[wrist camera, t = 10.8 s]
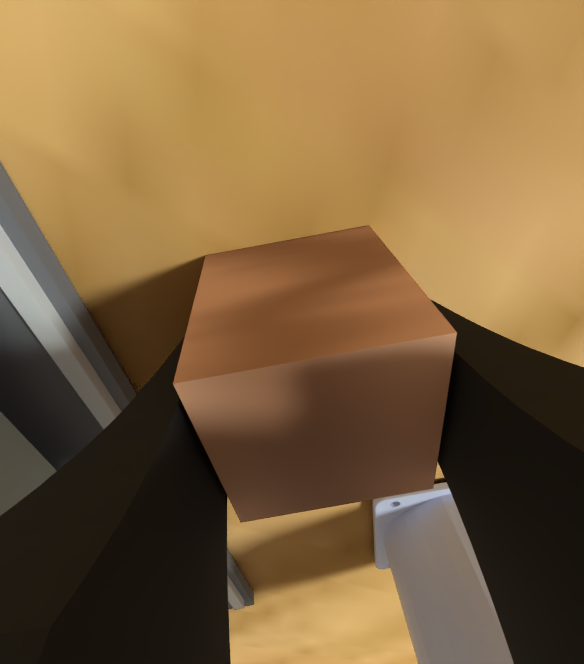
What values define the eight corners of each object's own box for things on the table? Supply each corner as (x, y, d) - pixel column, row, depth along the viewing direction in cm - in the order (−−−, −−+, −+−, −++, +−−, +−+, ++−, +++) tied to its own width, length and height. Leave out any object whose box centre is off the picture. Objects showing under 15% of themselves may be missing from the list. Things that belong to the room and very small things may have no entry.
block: (369, 225, 10) (456, 332, 6) (372, 352, 12) (433, 488, 8) (205, 256, 10) (173, 383, 6) (243, 375, 12) (240, 522, 8)
